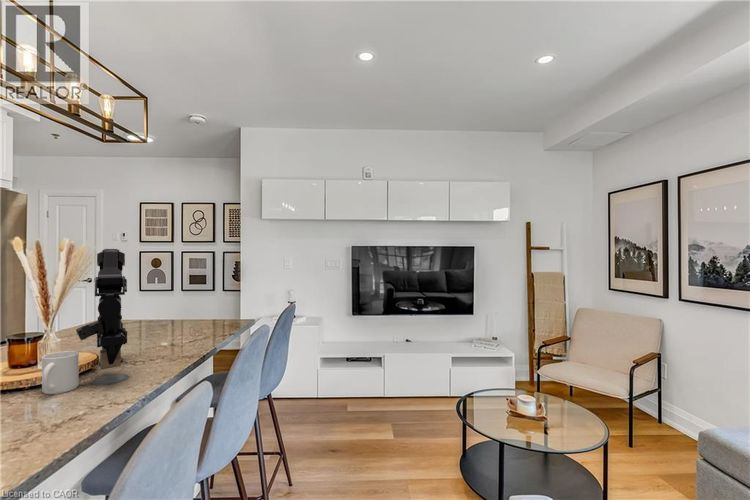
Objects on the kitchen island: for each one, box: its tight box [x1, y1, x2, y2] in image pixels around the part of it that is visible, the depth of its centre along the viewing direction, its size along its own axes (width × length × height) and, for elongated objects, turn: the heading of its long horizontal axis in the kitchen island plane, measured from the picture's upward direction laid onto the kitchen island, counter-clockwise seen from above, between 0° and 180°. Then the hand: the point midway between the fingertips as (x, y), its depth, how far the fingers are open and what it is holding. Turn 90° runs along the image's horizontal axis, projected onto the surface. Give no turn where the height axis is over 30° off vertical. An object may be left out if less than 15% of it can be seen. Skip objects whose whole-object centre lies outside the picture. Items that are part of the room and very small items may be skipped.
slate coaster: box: [90, 373, 130, 386], centre depth 121 cm, size 10×10×1 cm
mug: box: [41, 350, 80, 395], centre depth 111 cm, size 12×8×10 cm
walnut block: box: [99, 349, 122, 370], centre depth 121 cm, size 5×5×5 cm
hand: (110, 362), depth 121 cm, fingers closed on walnut block, 5 cm apart
